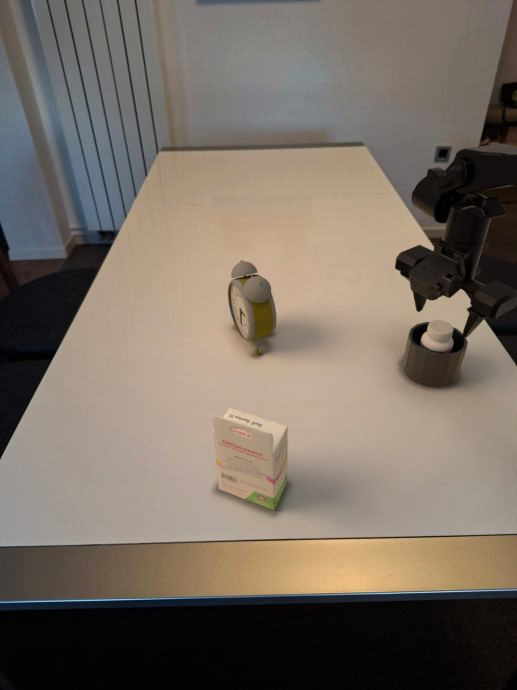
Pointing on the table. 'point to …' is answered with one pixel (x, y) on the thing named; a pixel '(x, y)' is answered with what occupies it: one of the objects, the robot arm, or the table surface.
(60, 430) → the table surface
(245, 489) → the white medicine box
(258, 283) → the alarm clock
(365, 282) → the table surface
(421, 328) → the pen holder
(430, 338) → the pill bottle
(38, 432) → the table surface
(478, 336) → the table surface
